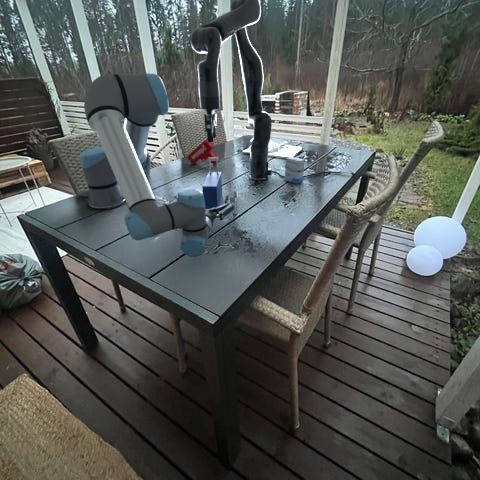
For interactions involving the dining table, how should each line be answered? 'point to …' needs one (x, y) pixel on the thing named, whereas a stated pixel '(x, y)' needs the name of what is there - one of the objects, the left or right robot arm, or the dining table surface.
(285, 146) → the relief map
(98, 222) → the dining table surface
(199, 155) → the toy gun
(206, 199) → the chest
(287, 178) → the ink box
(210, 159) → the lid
